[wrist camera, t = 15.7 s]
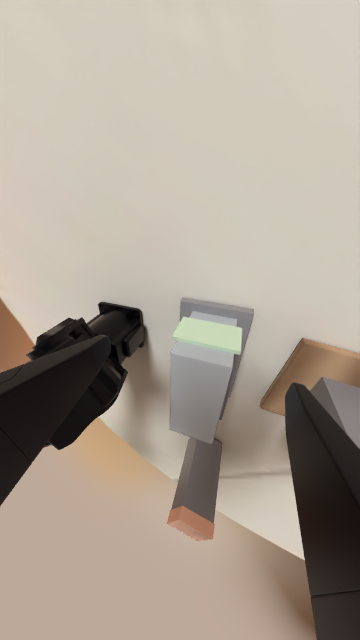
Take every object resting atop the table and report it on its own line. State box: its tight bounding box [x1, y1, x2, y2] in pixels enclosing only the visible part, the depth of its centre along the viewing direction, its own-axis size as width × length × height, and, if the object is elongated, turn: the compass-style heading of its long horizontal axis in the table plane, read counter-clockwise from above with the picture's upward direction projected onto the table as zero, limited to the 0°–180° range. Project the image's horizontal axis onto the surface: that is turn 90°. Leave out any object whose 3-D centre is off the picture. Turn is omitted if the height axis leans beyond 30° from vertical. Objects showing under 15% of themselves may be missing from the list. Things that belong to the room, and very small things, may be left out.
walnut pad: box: [261, 338, 360, 416], centre depth 22 cm, size 12×12×1 cm
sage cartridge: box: [310, 377, 360, 448], centre depth 17 cm, size 5×5×12 cm
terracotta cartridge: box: [167, 438, 222, 541], centre depth 32 cm, size 5×5×12 cm
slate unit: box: [170, 298, 254, 444], centre depth 21 cm, size 8×14×8 cm, turn 177°
